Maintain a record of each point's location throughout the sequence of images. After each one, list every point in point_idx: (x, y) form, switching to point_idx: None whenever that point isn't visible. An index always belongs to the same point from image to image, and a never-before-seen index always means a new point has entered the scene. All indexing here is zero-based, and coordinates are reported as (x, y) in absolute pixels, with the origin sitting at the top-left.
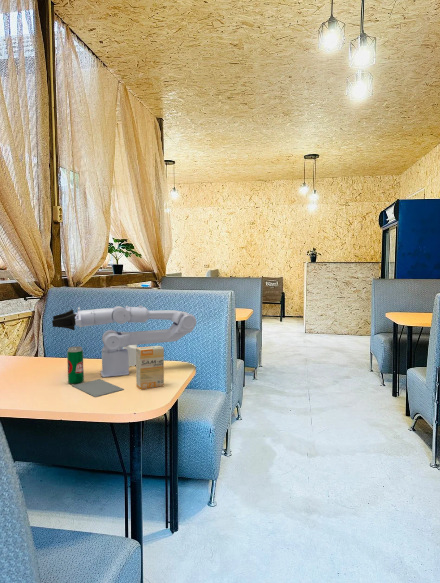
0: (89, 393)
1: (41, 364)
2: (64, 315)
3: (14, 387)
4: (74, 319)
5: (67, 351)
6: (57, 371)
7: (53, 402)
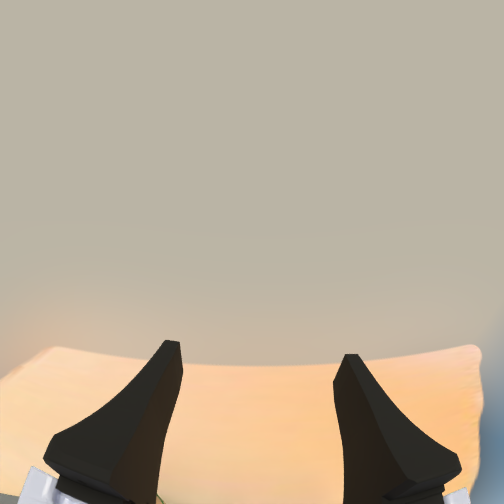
0: (15, 496)
1: (421, 426)
2: (367, 428)
3: (196, 380)
4: (59, 473)
5: None
6: (332, 484)
7: (20, 417)
